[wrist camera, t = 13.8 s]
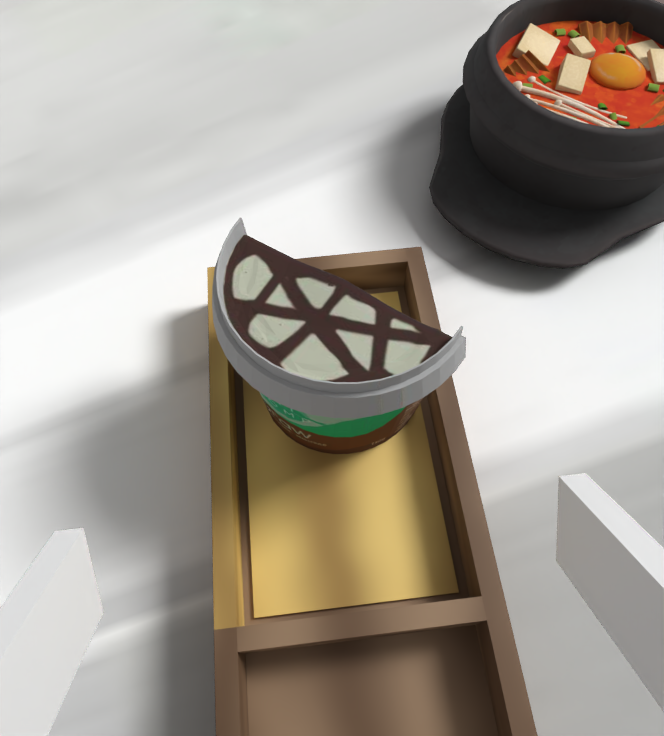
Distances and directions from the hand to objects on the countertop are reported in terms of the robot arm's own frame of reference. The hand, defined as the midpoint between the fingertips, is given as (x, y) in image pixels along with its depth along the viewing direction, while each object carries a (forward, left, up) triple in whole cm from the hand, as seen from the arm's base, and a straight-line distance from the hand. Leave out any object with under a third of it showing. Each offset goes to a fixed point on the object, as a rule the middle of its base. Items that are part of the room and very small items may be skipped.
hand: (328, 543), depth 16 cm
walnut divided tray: (-1, -1, -15) cm, 15 cm away
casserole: (-21, -29, -15) cm, 39 cm away
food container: (0, -10, -14) cm, 17 cm away
